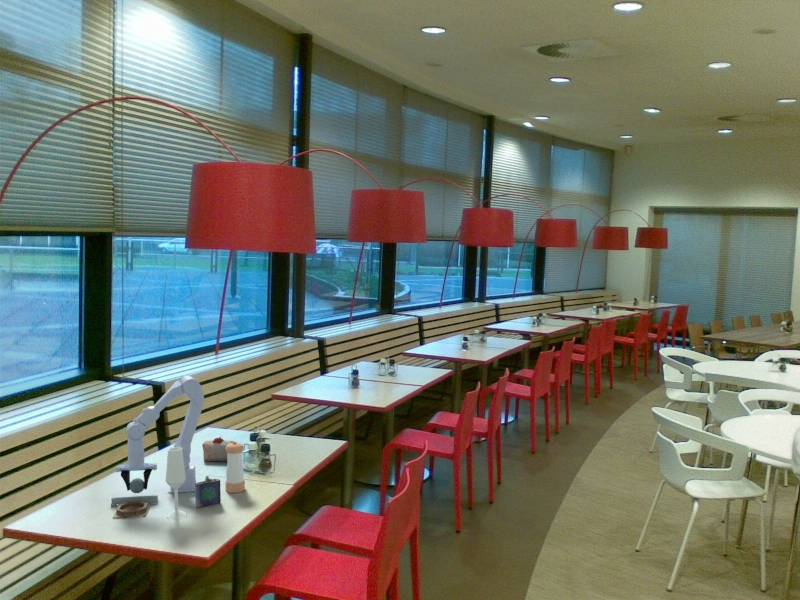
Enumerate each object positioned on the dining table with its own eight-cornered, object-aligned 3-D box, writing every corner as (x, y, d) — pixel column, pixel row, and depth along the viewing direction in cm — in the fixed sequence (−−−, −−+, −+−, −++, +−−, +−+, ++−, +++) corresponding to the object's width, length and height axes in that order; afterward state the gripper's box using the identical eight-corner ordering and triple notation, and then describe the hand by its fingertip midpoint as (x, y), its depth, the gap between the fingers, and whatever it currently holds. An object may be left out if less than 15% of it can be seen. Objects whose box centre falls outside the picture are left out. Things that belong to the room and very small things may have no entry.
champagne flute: (163, 514, 251) (162, 448, 248) (182, 510, 255) (181, 444, 252) (170, 520, 245) (168, 453, 243) (189, 516, 250) (188, 449, 247)
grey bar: (158, 500, 263) (158, 494, 263) (157, 503, 260) (156, 497, 260) (112, 503, 261) (112, 496, 260) (110, 506, 258) (110, 499, 257)
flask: (196, 508, 256) (195, 479, 255) (194, 506, 259) (193, 477, 258) (221, 503, 261) (221, 475, 260) (219, 501, 263) (218, 473, 262)
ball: (146, 489, 271) (145, 475, 270) (143, 495, 265) (143, 480, 265) (131, 490, 270) (130, 476, 269) (128, 495, 264) (127, 481, 264)
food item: (200, 462, 307) (199, 440, 306) (206, 456, 315) (206, 434, 314) (231, 463, 306) (230, 441, 305) (236, 457, 314) (236, 435, 313)
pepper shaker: (248, 489, 275) (247, 441, 273) (232, 494, 270) (231, 445, 268) (237, 484, 280) (237, 437, 278) (221, 489, 275) (220, 441, 273)
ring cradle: (151, 504, 260) (150, 499, 259) (145, 516, 249) (145, 511, 249) (119, 506, 258) (119, 501, 257) (112, 518, 247) (112, 513, 247)
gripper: (113, 458, 261) (114, 494, 262) (154, 456, 263) (155, 491, 265) (117, 452, 268) (118, 487, 269) (157, 450, 270) (158, 485, 272)
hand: (137, 489), depth 268 cm, fingers closed on ball, 5 cm apart
